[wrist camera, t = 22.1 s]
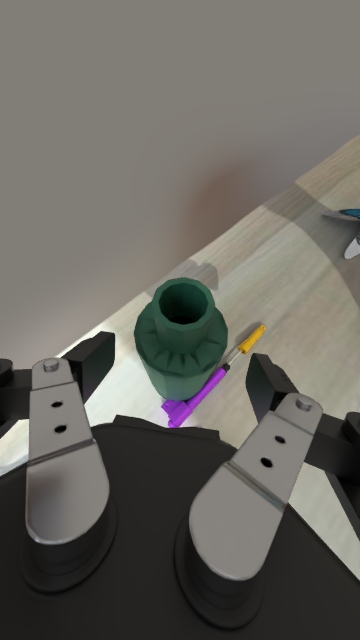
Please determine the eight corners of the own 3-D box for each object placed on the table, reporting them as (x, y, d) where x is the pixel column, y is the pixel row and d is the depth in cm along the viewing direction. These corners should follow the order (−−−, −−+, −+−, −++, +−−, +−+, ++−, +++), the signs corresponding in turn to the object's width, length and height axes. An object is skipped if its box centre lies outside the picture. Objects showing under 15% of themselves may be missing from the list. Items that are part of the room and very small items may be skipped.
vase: (195, 343, 26) (220, 249, 13) (211, 393, 24) (262, 343, 10) (147, 355, 26) (116, 267, 12) (157, 408, 23) (132, 375, 9)
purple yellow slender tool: (174, 433, 21) (267, 331, 27) (172, 430, 21) (269, 326, 26) (157, 413, 23) (248, 320, 28) (155, 410, 22) (250, 315, 27)
